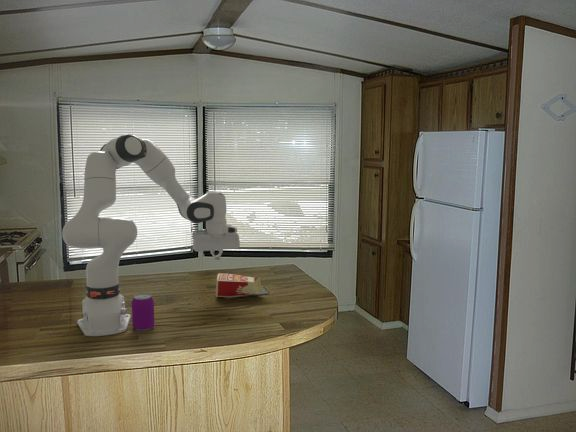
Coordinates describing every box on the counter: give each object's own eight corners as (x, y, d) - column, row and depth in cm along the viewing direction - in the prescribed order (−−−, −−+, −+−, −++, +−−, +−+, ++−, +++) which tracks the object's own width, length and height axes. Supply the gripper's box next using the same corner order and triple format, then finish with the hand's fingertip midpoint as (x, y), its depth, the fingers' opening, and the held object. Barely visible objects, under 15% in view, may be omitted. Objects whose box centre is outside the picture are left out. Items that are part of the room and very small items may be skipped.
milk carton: (218, 290, 232) (263, 293, 233) (215, 297, 223) (262, 300, 224) (218, 270, 230) (264, 273, 231) (216, 277, 221) (263, 280, 222)
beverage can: (146, 322, 195) (145, 291, 193) (158, 327, 190) (158, 295, 188) (128, 328, 189) (127, 296, 187) (141, 333, 185) (139, 300, 183)
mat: (269, 294, 231) (269, 293, 231) (224, 298, 224) (224, 297, 224) (258, 284, 246) (258, 283, 246) (216, 288, 239) (216, 287, 239)
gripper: (193, 231, 220) (194, 263, 222) (240, 228, 227) (240, 259, 229) (190, 228, 225) (191, 259, 228) (236, 226, 233) (236, 256, 235)
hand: (216, 259), depth 229 cm, fingers closed
